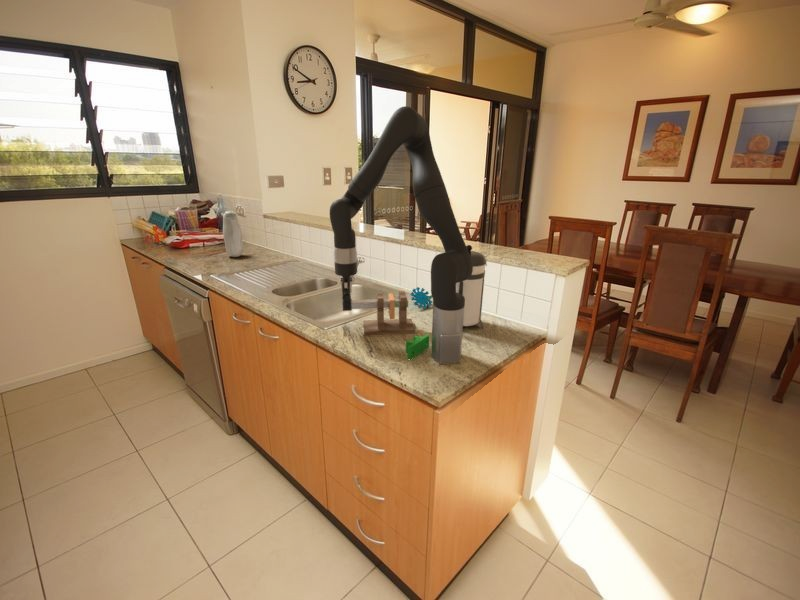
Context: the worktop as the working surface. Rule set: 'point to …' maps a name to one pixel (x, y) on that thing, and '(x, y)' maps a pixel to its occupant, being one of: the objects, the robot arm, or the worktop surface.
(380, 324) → the stand
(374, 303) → the shaft
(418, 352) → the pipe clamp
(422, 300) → the teal spiky round piece
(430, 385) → the worktop surface
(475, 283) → the coffee press
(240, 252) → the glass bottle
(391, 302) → the spacer
